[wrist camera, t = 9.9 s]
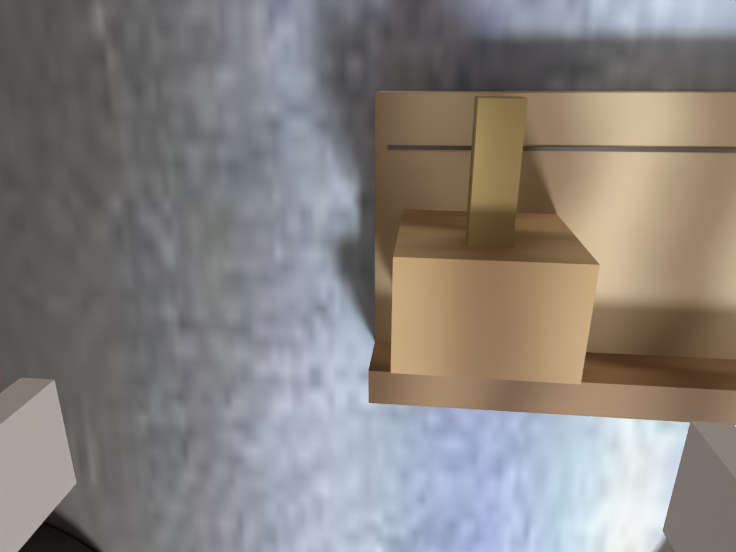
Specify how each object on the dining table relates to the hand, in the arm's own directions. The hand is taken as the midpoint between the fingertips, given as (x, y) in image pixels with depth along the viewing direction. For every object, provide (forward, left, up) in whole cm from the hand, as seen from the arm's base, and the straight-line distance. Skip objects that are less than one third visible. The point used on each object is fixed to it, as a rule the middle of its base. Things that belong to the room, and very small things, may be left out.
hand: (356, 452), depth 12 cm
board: (+11, +1, -14) cm, 18 cm away
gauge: (+3, +2, -12) cm, 13 cm away
